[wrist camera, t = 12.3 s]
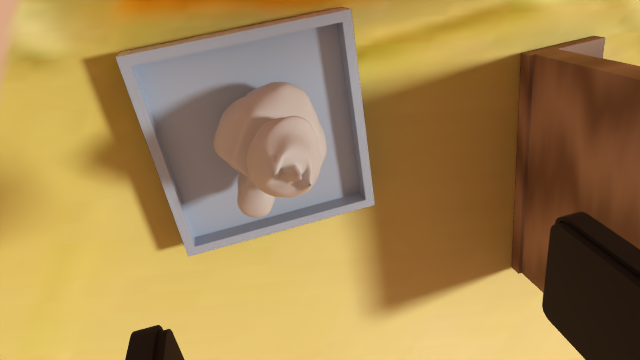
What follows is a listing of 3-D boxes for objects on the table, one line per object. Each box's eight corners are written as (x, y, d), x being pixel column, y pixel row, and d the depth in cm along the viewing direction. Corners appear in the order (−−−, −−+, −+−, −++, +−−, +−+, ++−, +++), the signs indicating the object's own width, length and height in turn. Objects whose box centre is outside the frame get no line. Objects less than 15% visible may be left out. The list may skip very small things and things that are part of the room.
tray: (120, 52, 21) (115, 57, 20) (342, 6, 23) (351, 9, 21) (188, 242, 26) (188, 256, 25) (366, 193, 28) (374, 204, 26)
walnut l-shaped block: (521, 53, 26) (685, 93, 17) (594, 35, 27) (786, 66, 18) (511, 267, 34) (624, 371, 25) (569, 248, 34) (698, 344, 25)
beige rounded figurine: (332, 93, 24) (389, 142, 17) (288, 199, 26) (323, 283, 19) (234, 57, 22) (253, 96, 15) (195, 175, 24) (195, 259, 17)
